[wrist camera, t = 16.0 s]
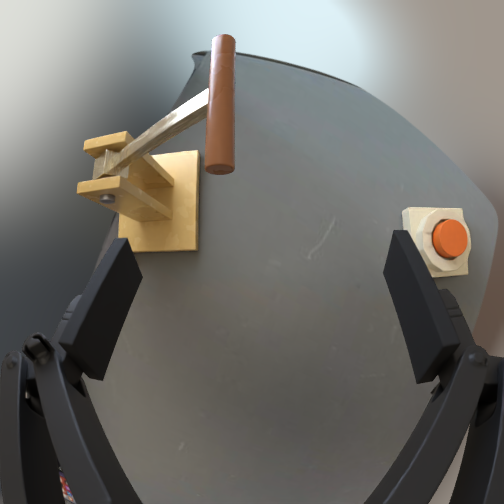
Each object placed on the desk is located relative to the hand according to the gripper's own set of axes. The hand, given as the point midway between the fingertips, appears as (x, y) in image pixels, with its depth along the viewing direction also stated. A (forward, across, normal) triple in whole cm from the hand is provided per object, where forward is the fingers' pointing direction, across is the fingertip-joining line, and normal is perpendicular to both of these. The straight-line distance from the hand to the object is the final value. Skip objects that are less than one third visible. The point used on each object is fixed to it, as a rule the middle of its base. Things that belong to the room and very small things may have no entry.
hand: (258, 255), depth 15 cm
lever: (+9, -7, +3) cm, 12 cm away
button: (+13, +20, -9) cm, 25 cm away
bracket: (+20, -13, -8) cm, 25 cm away
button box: (+15, +20, -12) cm, 28 cm away
